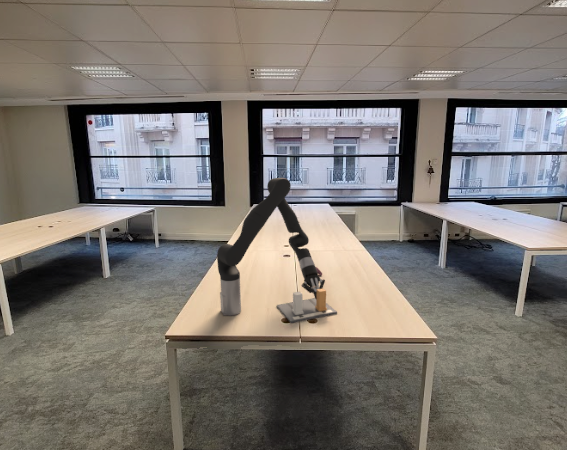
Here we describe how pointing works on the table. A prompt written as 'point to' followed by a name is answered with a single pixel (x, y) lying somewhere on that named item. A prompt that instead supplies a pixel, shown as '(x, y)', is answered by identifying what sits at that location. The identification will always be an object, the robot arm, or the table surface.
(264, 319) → the table surface
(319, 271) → the video game controller
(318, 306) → the orange tab
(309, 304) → the switch panel
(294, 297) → the white slide tab
